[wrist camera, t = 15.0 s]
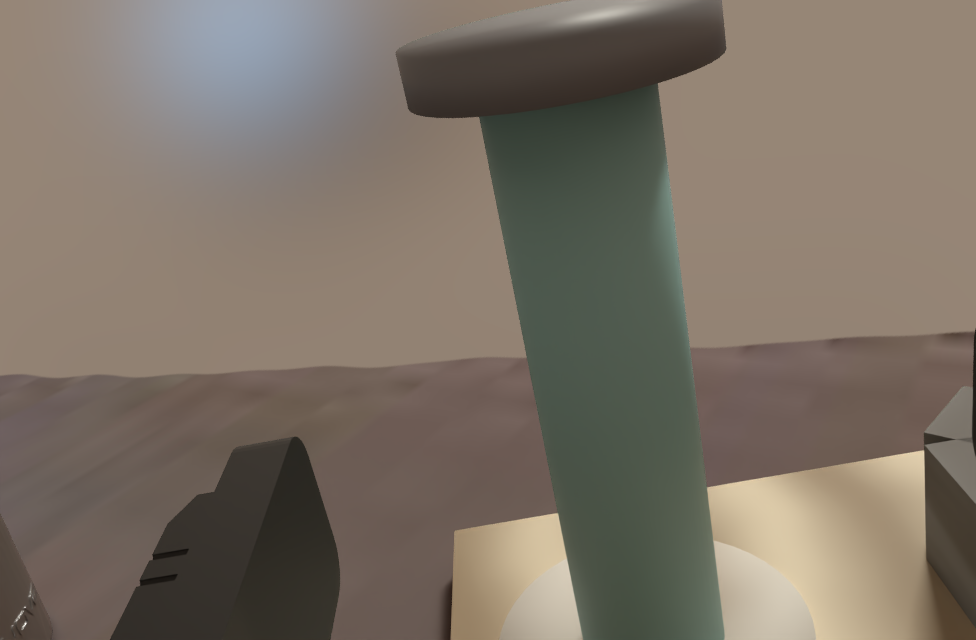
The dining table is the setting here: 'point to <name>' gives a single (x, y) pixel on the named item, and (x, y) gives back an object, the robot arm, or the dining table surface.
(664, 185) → the wheel peg
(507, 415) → the dining table surface
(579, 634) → the eye board
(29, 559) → the dining table surface
